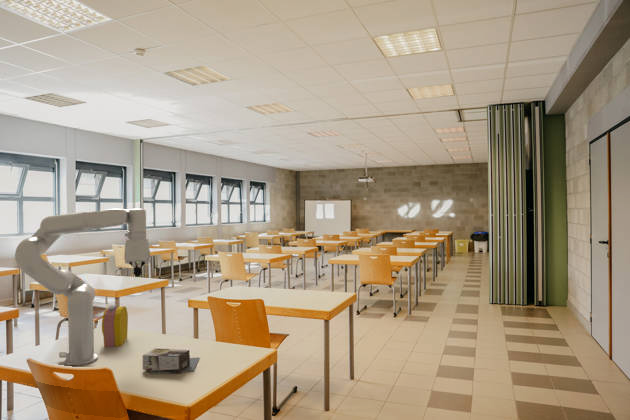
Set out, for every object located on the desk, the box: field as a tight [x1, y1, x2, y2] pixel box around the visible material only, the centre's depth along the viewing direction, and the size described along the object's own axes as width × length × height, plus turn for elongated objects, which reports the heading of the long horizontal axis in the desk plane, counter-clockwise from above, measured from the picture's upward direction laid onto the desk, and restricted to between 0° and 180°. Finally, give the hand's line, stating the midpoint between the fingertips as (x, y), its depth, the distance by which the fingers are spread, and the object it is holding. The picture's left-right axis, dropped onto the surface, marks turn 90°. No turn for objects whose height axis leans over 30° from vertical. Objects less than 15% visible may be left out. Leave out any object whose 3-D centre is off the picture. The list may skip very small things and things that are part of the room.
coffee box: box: [142, 348, 191, 373], centre depth 171 cm, size 9×6×16 cm
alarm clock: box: [101, 304, 129, 348], centre depth 206 cm, size 15×8×18 cm, turn 10°
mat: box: [149, 357, 200, 375], centre depth 174 cm, size 17×15×1 cm
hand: (137, 276), depth 190 cm, fingers closed
